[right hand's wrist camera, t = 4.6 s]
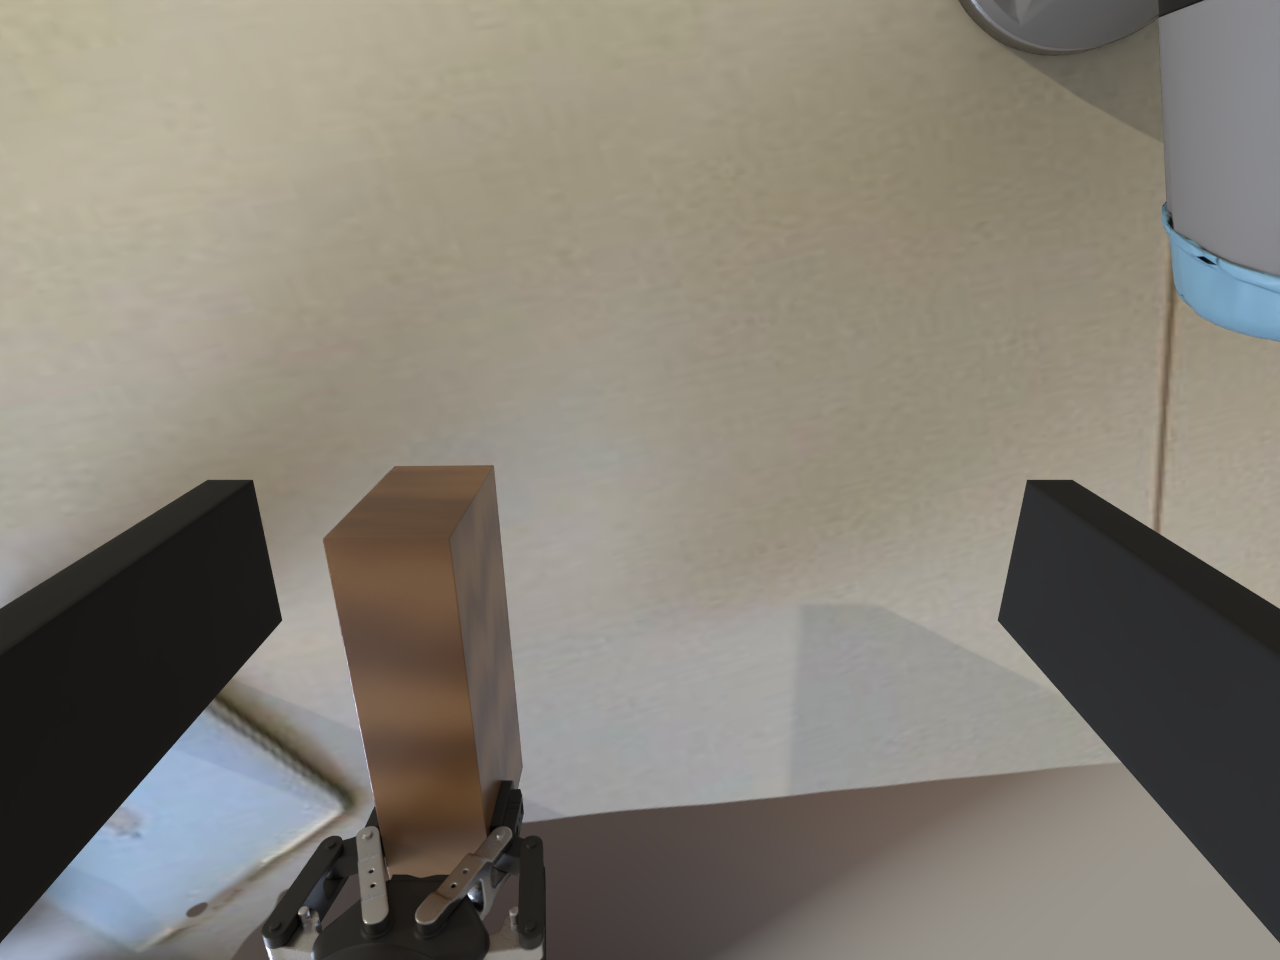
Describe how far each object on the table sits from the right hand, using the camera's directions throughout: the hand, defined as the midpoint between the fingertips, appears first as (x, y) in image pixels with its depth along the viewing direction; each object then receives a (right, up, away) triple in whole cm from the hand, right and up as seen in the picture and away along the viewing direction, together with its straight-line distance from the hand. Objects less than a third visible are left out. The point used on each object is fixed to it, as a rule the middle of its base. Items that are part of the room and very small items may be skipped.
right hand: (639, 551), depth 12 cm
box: (-11, -8, +34) cm, 36 cm away
